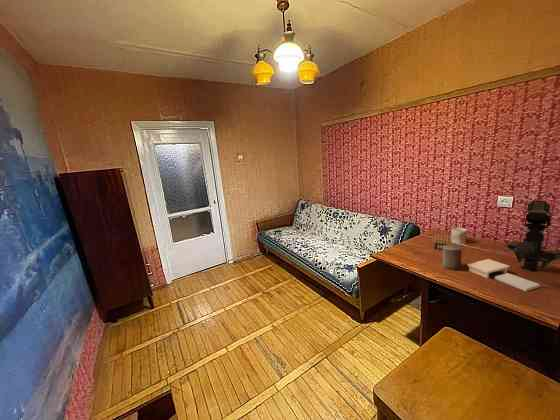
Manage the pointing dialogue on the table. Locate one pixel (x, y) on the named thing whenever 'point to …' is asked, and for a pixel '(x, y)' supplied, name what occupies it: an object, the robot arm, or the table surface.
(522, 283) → the pale wall plate
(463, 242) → the mug
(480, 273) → the cream rectangular slab
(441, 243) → the ammunition clip
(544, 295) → the table surface
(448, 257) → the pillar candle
